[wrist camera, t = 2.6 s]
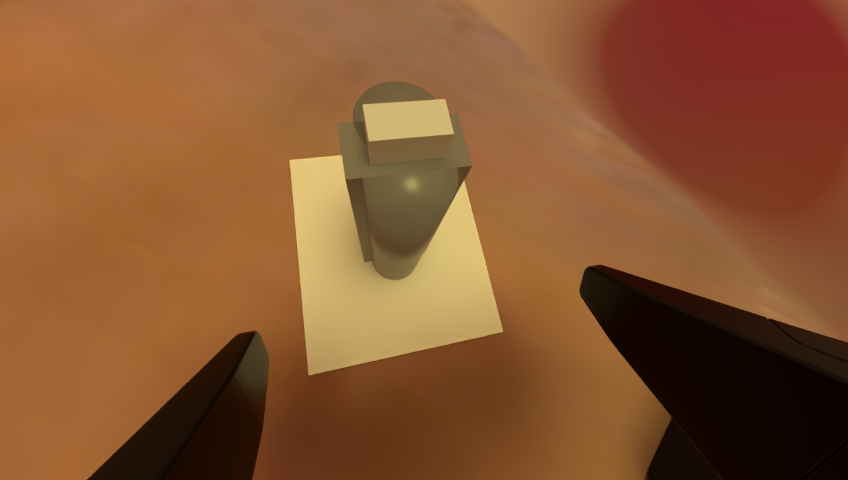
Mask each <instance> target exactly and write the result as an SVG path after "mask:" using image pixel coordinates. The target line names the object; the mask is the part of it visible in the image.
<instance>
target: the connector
mask: <svg viewBox="0 0 848 480" xmlns="http://www.w3.org/2000/svg"><path fill="white" fill-rule="evenodd" d="M337 124H338V131H339V139H340V146H341V153H342V160H343V167H344V174H345V181H346V185H347V189H348V193H349V198H350V202H351V206H352V211H353V215H354V219H355V223H356V228H357V232H358V236H359V241H360V245H361V249H362V254H363V258H364V262H369V261H372V262H373V265H374V268H375V269H376V271H377V272H378V273H379V274H380V275H381V276H383V277H385V278H387V279H391V280H399V279H403V278H405V277H407V276H409V275H410V274H411V273H412V272H413V271H414V269H415V267H416V266H417V264H418V262H419V260H420V258H421V256H422V254H423V253H425V251H426V249H427V247H428V245H429V244H430V242H431V240H432V238H433V236H434V234H435V233H436V231H437V229H438V227H439V225H440V223H441V222H442V220H443V218H444V216H445V214H446V212H447V211H448V209H449V207H450V205H451V203H452V201H453V200H454V198H455V196H456V194H457V192H458V190H459V189H460V187H461V185H462V183H463V181H464V179H465V178H466V176H467V174H468V172H469V170H470V168H471V167H472V164H471V161H470V157H469V153H468V150H467V146H466V142H465V139H464V135H463V131H462V128H461V124H460V120H459V116H458V114H454V115H449V112H448V109H447V105H446V101H445V99H440V100H435V99H434V97H433V96H431V95H430V94H429V93H428V92H426V91H425V90H423V89H422V88H420V87H418V86H415V85H412V84H409V83H405V82H386V83H381V84H378V85H375V86H373V87H371V88H370V89H368V90H367V91H366V92H364V93H363V94H362V95H361V96H360V98H359V99H358V101H357V102H356V105H355V107H354V111H353V122H346V123H337Z"/></svg>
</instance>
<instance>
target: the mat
mask: <svg viewBox="0 0 848 480" xmlns="http://www.w3.org/2000/svg"><path fill="white" fill-rule="evenodd" d="M290 169H291V180H292V192H293V203H294V214H295V226H296V237H297V249H298V260H299V272H300V283H301V295H302V306H303V318H304V329H305V340H306V352H307V363H308V375H313V374H317V373H322V372H326V371H331V370H335V369H340V368H344V367H349V366H353V365H358V364H362V363H367V362H371V361H376V360H380V359H385V358H389V357H393V356H398V355H402V354H407V353H411V352H416V351H420V350H425V349H429V348H434V347H438V346H443V345H447V344H452V343H456V342H461V341H465V340H470V339H474V338H478V337H483V336H487V335H492V334H496V333H501V332H503V329H502V325H501V321H500V317H499V313H498V310H497V306H496V302H495V298H494V294H493V290H492V286H491V282H490V279H489V275H488V271H487V267H486V263H485V259H484V255H483V252H482V248H481V244H480V240H479V236H478V232H477V228H476V225H475V221H474V217H473V213H472V209H471V205H470V201H469V198H468V194H467V190H466V186H465V182H464V181H463V183H462V185H461V187H460V189H459V190H458V192H457V194H456V196H455V198H454V200H453V201H452V203H451V205H450V207H449V209H448V211H447V212H446V214H445V216H444V218H443V220H442V222H441V223H440V225H439V227H438V229H437V231H436V233H435V234H434V236H433V238H432V240H431V242H430V244H429V245H428V247H427V249H426V251H425V253H423V254H422V256H421V258H420V260H419V262H418V264H417V266H416V267H415V269H414V271H413V272H412V273H411V274H410V275H409V276H407V277H405V278H403V279H399V280H391V279H387V278H385V277H383V276H381V275H380V274H379V273H378V272H377V271H376V269H375V268H374V265H373V262H372V261H369V262H364V258H363V254H362V249H361V245H360V241H359V236H358V232H357V228H356V223H355V219H354V215H353V211H352V206H351V202H350V198H349V193H348V189H347V185H346V181H345V174H344V167H343V160H342V155H340V156H329V157H318V158H307V159H297V160H290Z"/></svg>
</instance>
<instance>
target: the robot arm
mask: <svg viewBox="0 0 848 480" xmlns="http://www.w3.org/2000/svg"><path fill="white" fill-rule="evenodd" d="M579 290H580V295H581V297H582V299H583V300H584V302H585V303H586V305H587V306H588V308H589V309H590V311H591V312H592V314H593V315H594V317H595V318H596V320H597V321H598V323H599V324H600V326H601V327H602V329H603V330H604V332H605V333H606V335H607V336H608V338H609V339H610V341H611V342H612V343H613V345H614V346H615V347H616V348H617V350H618V351H619V352H620V353H621V355H622V356H623V357H624V358H625V360H626V361H627V362H628V363H629V365H630V366H631V367H632V368H633V370H634V371H635V372H636V373H637V374H638V376H639V377H640V378H641V379H642V381H643V382H644V383H645V384H646V386H647V387H648V388H649V389H650V391H651V392H652V393H653V394H654V396H655V397H656V398H657V399H658V401H659V402H660V403H661V404H662V406H663V407H664V408H665V409H666V411H667V412H668V413H669V414H670V415H671V417H672V418H673V419H674V420H675V422H676V423H677V424H678V425H679V427H680V428H681V429H682V430H683V432H684V433H685V434H686V435H687V437H688V438H689V439H690V440H691V442H692V443H693V444H694V445H695V447H696V448H697V449H698V450H699V452H700V453H701V454H702V455H703V456H704V458H705V459H706V460H707V461H708V463H709V464H710V465H711V466H712V468H713V469H714V470H715V471H716V473H717V474H718V475H719V476H720V478H721V479H722V480H848V342H844V341H841V340H838V339H834V338H831V337H827V336H824V335H821V334H818V333H814V332H811V331H808V330H805V329H802V328H798V327H795V326H792V325H789V324H786V323H782V322H779V321H776V320H773V319H767V318H766V317H763V316H760V315H757V314H754V313H751V312H748V311H745V310H742V309H738V308H735V307H732V306H729V305H726V304H723V303H720V302H716V301H713V300H710V299H707V298H704V297H701V296H698V295H695V294H691V293H688V292H685V291H682V290H679V289H676V288H673V287H669V286H666V285H663V284H660V283H657V282H654V281H651V280H648V279H644V278H641V277H638V276H635V275H632V274H629V273H626V272H622V271H619V270H616V269H613V268H610V267H607V266H604V265H594V266H589V267H587V268H586V269H585V271H584V274H583V277H582V281H581V285H580V289H579ZM268 370H269V355H268V352H267V350H266V348H265V345H264V343H263V341H262V338H261V336H260V334H259V333H258V332H257V331H250V332H244V333H240V334H238V335H236V336H235V337H234V338H233V339H232V340H231V341H230V342H229V343H228V344H227V345H226V346H225V347H224V348H222V349H221V350H220V351H219V352H218V353H217V354H216V355H215V356H214V357H213V358H212V359H211V360H210V361H209V362H208V363H207V364H206V365H205V366H204V367H203V368H202V369H201V370H200V371H199V372H198V373H197V374H196V375H195V376H194V377H193V378H192V379H190V380H189V381H188V382H187V383H186V384H185V385H184V386H183V387H182V388H181V389H180V390H179V391H178V392H177V393H176V394H175V395H174V396H173V397H172V398H171V399H170V400H169V401H168V402H167V403H166V404H165V405H164V406H163V407H162V408H161V409H160V410H158V411H157V412H156V413H155V414H154V415H153V416H152V417H151V418H150V419H149V420H148V421H147V422H146V423H145V424H144V425H143V426H142V427H141V428H140V429H139V430H138V431H137V432H136V433H135V434H134V435H133V436H132V437H131V438H130V439H129V440H128V441H126V442H125V443H124V444H123V445H122V446H121V447H120V448H119V449H118V450H117V451H116V452H115V453H114V454H113V455H112V456H111V457H110V458H109V459H108V460H107V461H106V462H105V463H104V464H103V465H102V466H101V467H100V468H99V469H98V470H97V471H96V472H95V473H93V474H92V475H91V476H90V477H89V478H88V479H87V480H252V478H253V473H254V468H255V463H256V459H257V454H258V449H259V444H260V440H261V434H262V429H263V421H264V412H265V402H266V391H267V381H268Z"/></svg>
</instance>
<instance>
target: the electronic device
mask: <svg viewBox="0 0 848 480" xmlns="http://www.w3.org/2000/svg"><path fill="white" fill-rule="evenodd" d="M648 475H649V478H650V480H722V479H721V478H720V476H719V475H718V474H717V473H716V471H715V470H714V469H713V468H712V466H711V465H710V464H709V463H708V461H707V460H706V459H705V458H704V456H703V455H702V454H701V453H700V452H699V450H698V449H697V448H696V447H695V445H694V444H693V443H692V442H691V440H690V439H689V438H688V437H687V435H686V434H685V433H684V432H683V430H682V429H681V428H680V427H679V425H678V424H677V423H676V422H675V420H674V419H673V418H672V420H671V423H670V425H669V427H668V429H667V431H666V433H665V436H664V438H663V440H662V442H661V444H660V446H659V448H658V451H657V453H656V455H655V457H654V459H653V461H652V464H651V466H650V469H649V474H648Z"/></svg>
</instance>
